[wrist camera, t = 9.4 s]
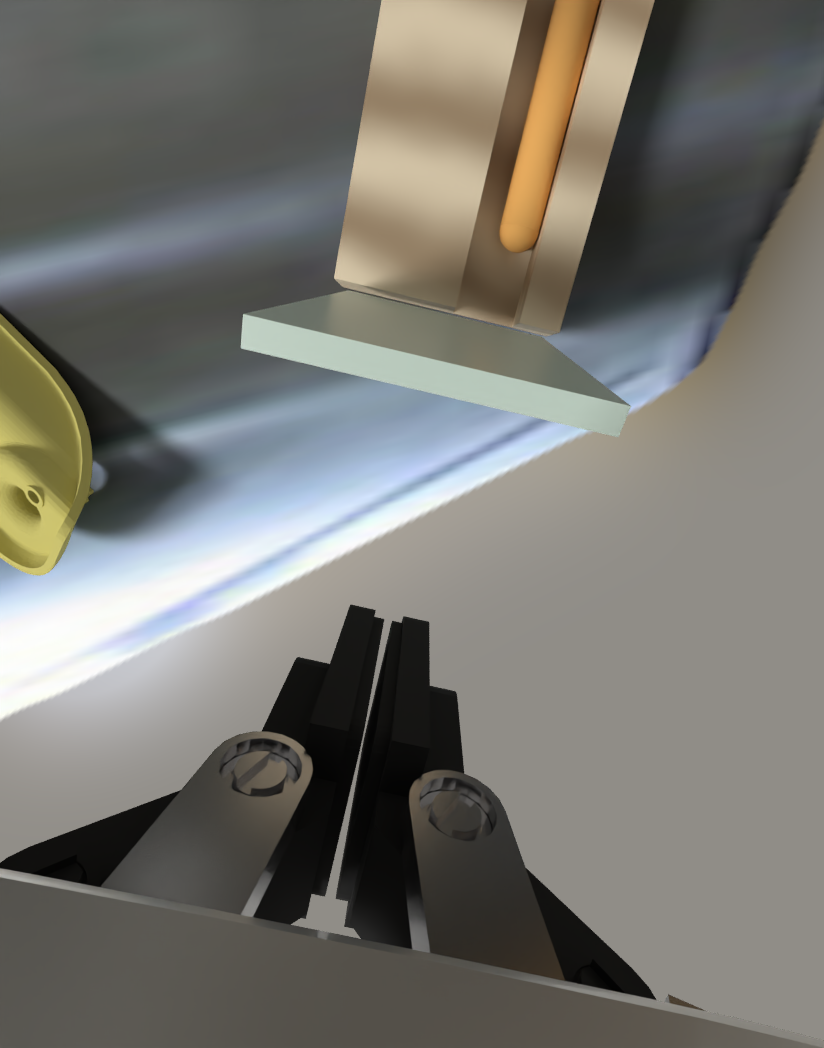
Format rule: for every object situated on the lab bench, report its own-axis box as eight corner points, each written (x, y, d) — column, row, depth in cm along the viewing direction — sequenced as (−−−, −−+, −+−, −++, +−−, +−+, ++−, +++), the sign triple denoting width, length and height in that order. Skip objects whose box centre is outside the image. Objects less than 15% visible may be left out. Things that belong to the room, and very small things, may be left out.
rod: (560, -21, 30) (567, -54, 28) (602, -13, 30) (613, -45, 28) (494, 252, 34) (495, 242, 32) (530, 260, 34) (535, 251, 32)
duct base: (409, -90, 30) (407, -148, 27) (648, -26, 31) (676, -75, 27) (342, 287, 36) (334, 278, 32) (546, 336, 36) (559, 332, 33)
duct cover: (243, 314, 16) (240, 348, 16) (630, 406, 16) (618, 437, 17) (348, 290, 32) (345, 307, 33) (541, 337, 33) (536, 353, 33)
